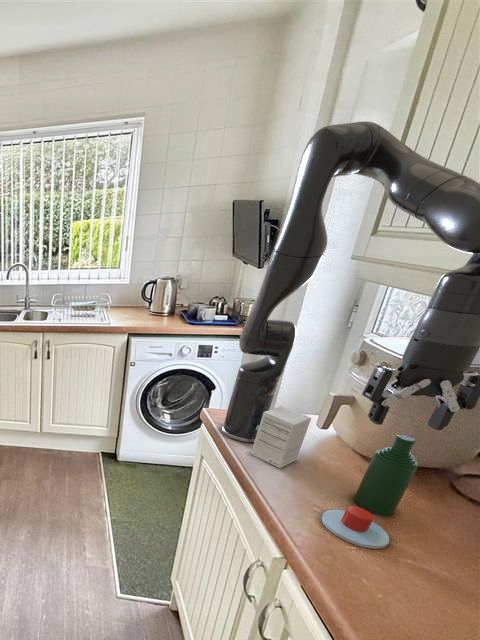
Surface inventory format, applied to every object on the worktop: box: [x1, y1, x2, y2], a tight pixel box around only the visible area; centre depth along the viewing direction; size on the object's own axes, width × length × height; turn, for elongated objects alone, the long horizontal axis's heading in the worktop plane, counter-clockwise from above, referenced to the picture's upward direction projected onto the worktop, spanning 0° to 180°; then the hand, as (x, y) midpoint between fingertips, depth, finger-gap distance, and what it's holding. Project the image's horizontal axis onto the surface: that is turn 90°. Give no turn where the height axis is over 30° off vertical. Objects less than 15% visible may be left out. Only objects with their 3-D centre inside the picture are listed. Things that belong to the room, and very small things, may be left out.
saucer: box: [321, 509, 390, 550], centre depth 80 cm, size 10×10×1 cm
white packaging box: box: [250, 405, 312, 469], centre depth 101 cm, size 7×7×13 cm
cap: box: [341, 505, 374, 532], centre depth 80 cm, size 4×4×3 cm
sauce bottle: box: [353, 434, 419, 517], centre depth 84 cm, size 6×6×17 cm
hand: (404, 425), depth 71 cm, fingers open, 8 cm apart
